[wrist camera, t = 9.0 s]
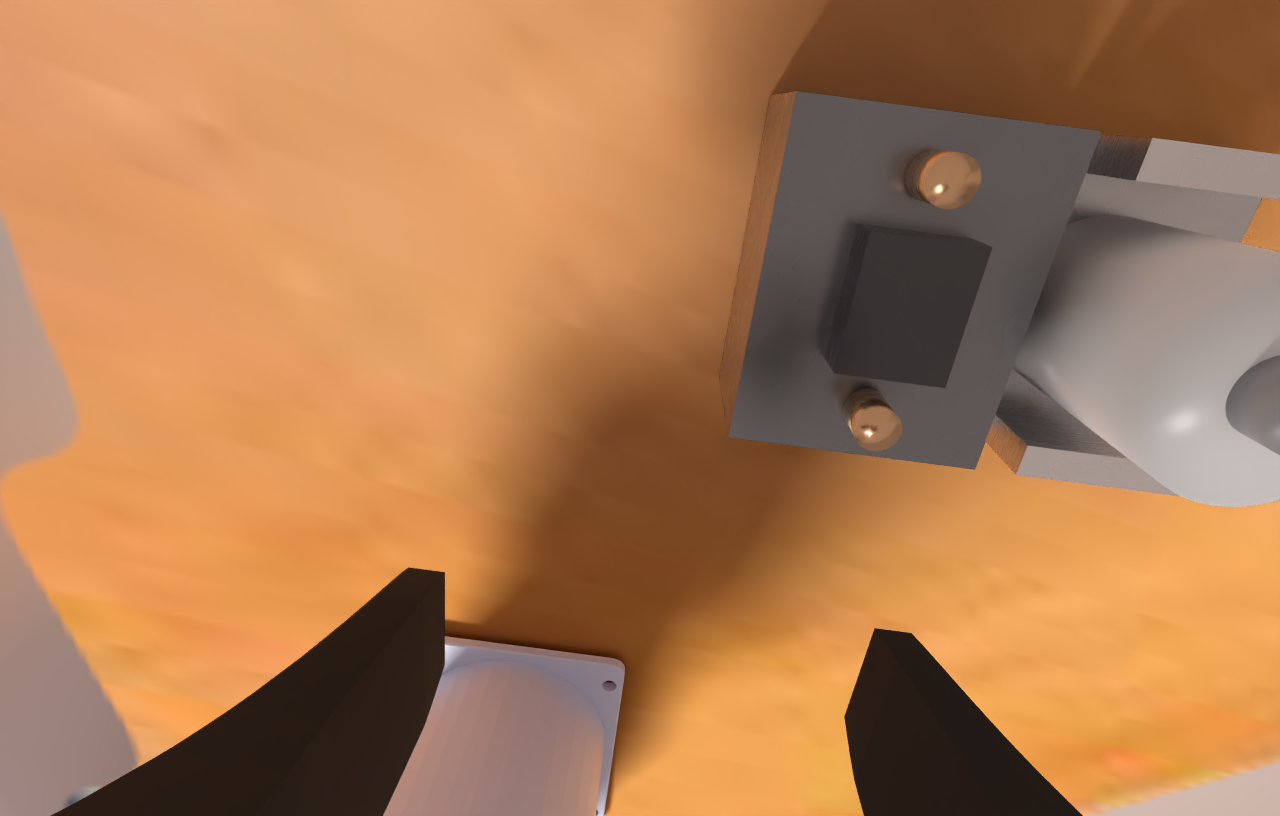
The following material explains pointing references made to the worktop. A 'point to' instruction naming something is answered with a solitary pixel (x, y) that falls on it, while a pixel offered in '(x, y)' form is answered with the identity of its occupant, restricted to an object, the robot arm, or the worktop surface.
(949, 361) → the grey tray
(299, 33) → the worktop surface
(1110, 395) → the white cylinder
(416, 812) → the robot arm
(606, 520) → the worktop surface
